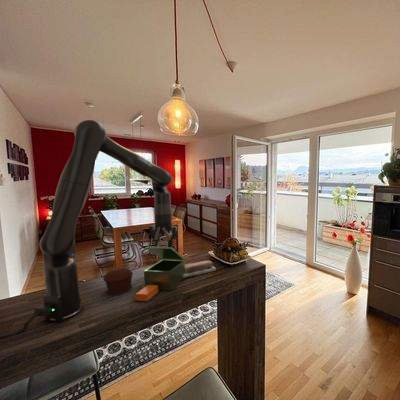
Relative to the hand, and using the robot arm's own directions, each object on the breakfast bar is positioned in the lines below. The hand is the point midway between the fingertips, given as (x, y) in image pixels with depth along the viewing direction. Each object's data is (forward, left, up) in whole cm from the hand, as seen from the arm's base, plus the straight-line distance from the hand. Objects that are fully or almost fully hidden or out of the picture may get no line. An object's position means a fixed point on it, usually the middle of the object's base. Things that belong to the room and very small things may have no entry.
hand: (164, 246), depth 111 cm
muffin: (-9, +18, -18) cm, 27 cm away
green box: (0, 0, -18) cm, 18 cm away
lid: (+1, 0, -4) cm, 4 cm away
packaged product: (+14, -10, -18) cm, 25 cm away
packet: (-13, +1, -18) cm, 22 cm away
